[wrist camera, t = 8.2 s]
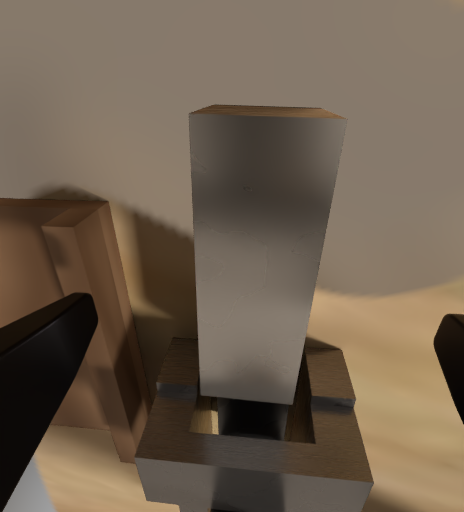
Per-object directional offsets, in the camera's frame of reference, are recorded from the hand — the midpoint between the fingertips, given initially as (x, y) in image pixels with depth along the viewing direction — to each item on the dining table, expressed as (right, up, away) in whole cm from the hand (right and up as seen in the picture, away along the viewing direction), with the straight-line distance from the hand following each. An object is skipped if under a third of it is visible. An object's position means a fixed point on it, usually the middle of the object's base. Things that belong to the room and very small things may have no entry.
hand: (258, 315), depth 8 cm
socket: (0, -9, +10) cm, 13 cm away
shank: (0, +2, +3) cm, 4 cm away
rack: (-9, -2, +7) cm, 11 cm away
